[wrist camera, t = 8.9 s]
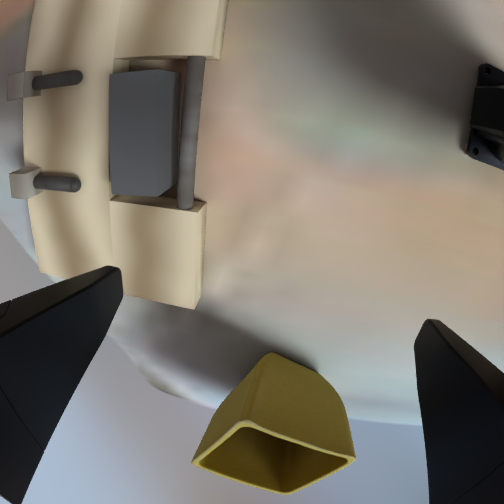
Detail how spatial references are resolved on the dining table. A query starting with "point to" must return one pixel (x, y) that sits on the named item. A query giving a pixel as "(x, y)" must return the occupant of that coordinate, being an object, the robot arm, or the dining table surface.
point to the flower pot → (278, 429)
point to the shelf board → (97, 142)
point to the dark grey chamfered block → (143, 131)
